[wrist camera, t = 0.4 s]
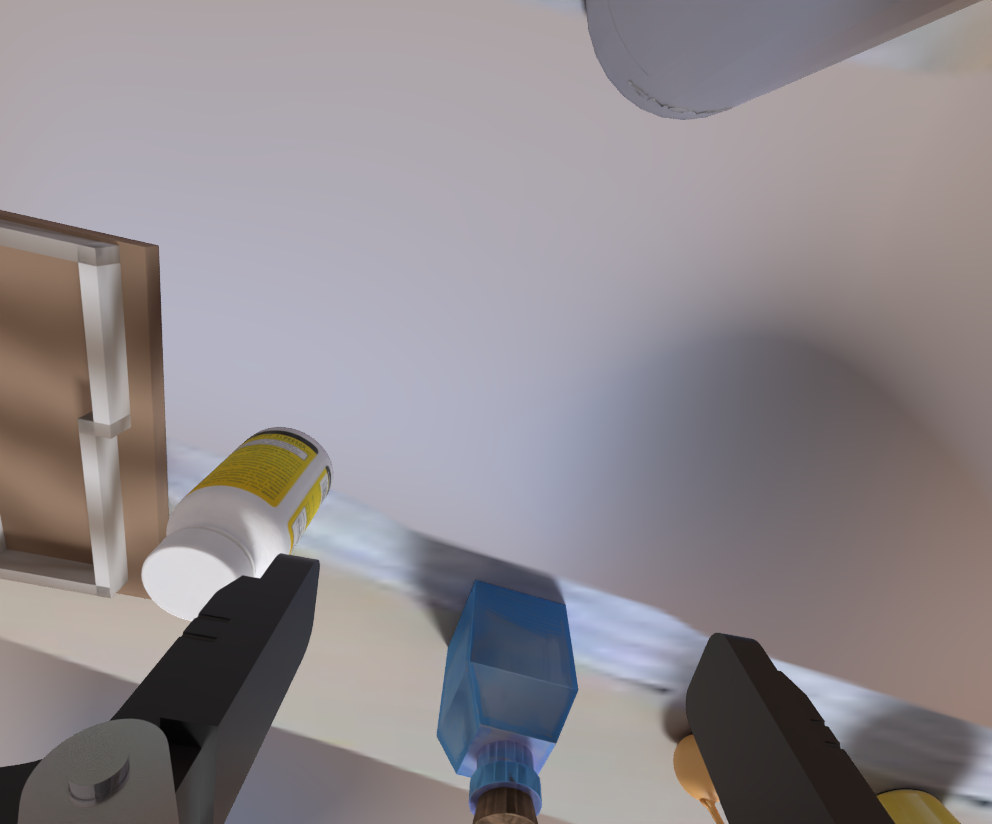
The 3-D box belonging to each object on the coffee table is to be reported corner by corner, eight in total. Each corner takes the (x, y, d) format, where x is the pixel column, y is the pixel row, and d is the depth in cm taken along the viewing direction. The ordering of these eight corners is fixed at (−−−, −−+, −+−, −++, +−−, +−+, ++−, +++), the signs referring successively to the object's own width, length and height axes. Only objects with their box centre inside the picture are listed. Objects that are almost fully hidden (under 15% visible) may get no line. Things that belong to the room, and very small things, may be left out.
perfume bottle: (447, 647, 34) (420, 858, 23) (475, 579, 32) (459, 778, 21) (532, 669, 35) (545, 885, 24) (565, 605, 33) (596, 810, 22)
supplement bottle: (224, 441, 29) (93, 551, 19) (307, 412, 28) (211, 512, 19) (272, 517, 30) (172, 649, 21) (351, 491, 30) (283, 617, 21)
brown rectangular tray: (-100, 187, 24) (-166, 185, 21) (158, 245, 24) (122, 249, 22) (-20, 555, 32) (-61, 582, 30) (171, 589, 33) (146, 619, 30)
